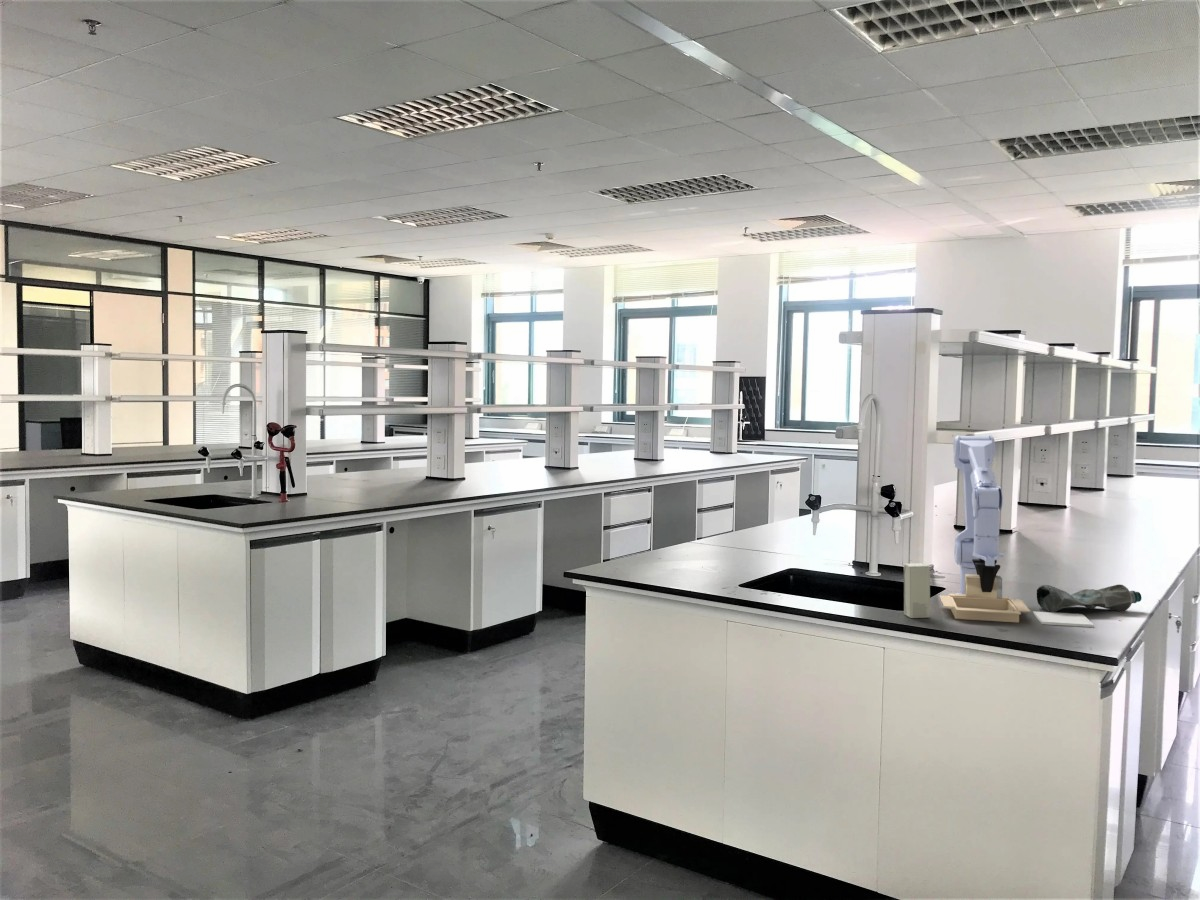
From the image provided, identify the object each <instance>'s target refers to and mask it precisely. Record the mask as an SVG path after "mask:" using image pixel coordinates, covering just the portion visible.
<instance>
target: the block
mask: <svg viewBox="0 0 1200 900" xmlns="http://www.w3.org/2000/svg"><path fill="white" fill-rule="evenodd" d="M965 595H966V597H971V598H994V599H1002V596H1003V577H1002V576H1001V575H998V574H996V577H995V580H994V585H993V589H992V592H982V589H981V584H980V577H979V575H971V574H965Z"/></svg>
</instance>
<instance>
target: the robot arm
mask: <svg viewBox="0 0 1200 900" xmlns="http://www.w3.org/2000/svg"><path fill="white" fill-rule="evenodd" d="M995 441H996V440H995V437H993V435H958V434H957V435H955V436H954V439H953V464H954V467H955V469H958V470H959V471H961V475H962V477H963V478H962V479H963V495H964V496H963V497H964V499H963V500H964V501H963V502H964V520H965V521H964V522H965V523H964V524H965V526H964V527H965V529H964V530H962V531H961V532H959V533H958V534H956V537H955V539H954V549H953V550H954V561H955V563H956V564H957V565H959V568H960V570H959V571H960V573H959V575H960V576H959V578H960V579H959V592H956V593H955V594H965V574H971V575H979V577H980V584H981V589H982V592H992V589H993V585H994V580H995V577H996V575H998V572H999V570H1000V569H1001V565H1000V564H997V562H998V560H997V559H999V558H1005V554H1004V552H1003V553H1002V552H999V551H1000V548H999V547H1000V512H1001V510H1002V508H1003V504H1004V503H1003V501H1004V500H1003V499H1004V498H1003V497H1004V496H1003V491H1002V487H1001V486H1000V485H997V480H996V476H995V472H994V470H992V469H991V467H992V464H993V459H994V456H995V453H996V442H995Z"/></svg>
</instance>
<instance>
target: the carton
mask: <svg viewBox="0 0 1200 900" xmlns="http://www.w3.org/2000/svg"><path fill="white" fill-rule="evenodd" d="M939 598H940V600H941V603H942V605H943V608H946V609H947V608H948V609H949V608H950V610H951V613H952V615H953V617H954V619H955V620H956V619H957V620H971V621H987V622H1006V623H1020V615H1022V612H1023V613H1031V610H1030V609H1029V608H1028V606H1027V605H1026V604H1025V603H1024V601H1023V599H1016V598H1010V597H1009V596H1005V595H1002V599H994V598H971V597H966V595H965V594H956V593H948V595H939Z"/></svg>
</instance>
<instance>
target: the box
mask: <svg viewBox="0 0 1200 900" xmlns="http://www.w3.org/2000/svg"><path fill="white" fill-rule="evenodd" d="M930 570H931V566H929V565H928V564H926V563H921V562H920V563H917V562H916V563H903V614H904V615H905V616H907V617H908V618H910V619H919V618H920V619H921V618H922V619H924V618H925V619H926V618H931V571H930Z"/></svg>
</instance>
